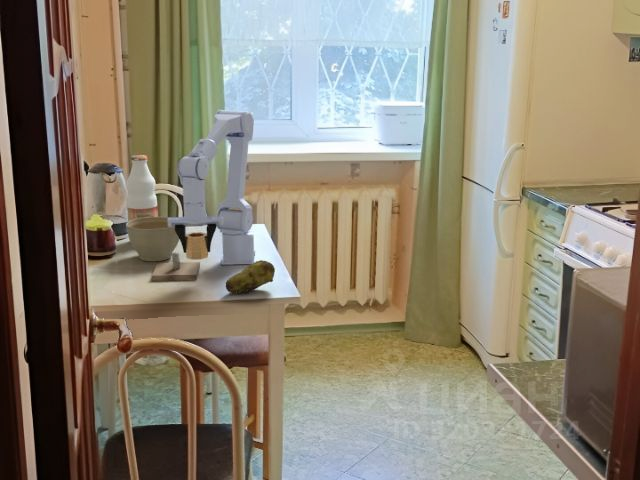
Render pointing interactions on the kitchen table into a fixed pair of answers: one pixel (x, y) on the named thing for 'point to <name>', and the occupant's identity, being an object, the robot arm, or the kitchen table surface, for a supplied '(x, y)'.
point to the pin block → (176, 270)
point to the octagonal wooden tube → (196, 245)
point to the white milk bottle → (141, 190)
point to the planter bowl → (152, 238)
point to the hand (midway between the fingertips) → (197, 251)
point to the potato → (251, 277)
